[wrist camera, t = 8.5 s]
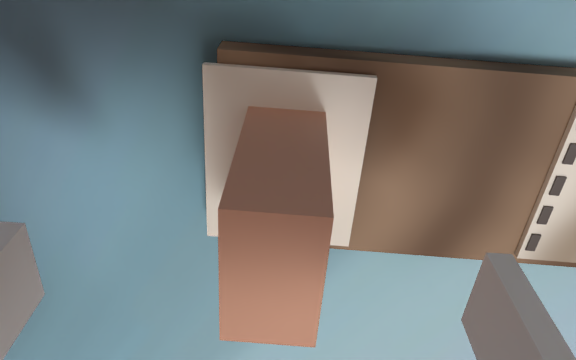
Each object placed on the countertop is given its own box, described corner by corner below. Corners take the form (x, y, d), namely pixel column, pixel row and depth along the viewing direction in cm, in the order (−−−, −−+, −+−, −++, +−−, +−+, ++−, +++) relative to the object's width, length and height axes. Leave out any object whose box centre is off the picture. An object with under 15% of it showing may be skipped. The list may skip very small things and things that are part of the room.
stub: (208, 231, 22) (167, 366, 15) (203, 62, 17) (144, 152, 11) (348, 242, 22) (363, 381, 15) (376, 75, 17) (413, 172, 11)
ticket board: (223, 224, 23) (218, 244, 22) (222, 40, 18) (215, 51, 17) (647, 257, 23) (668, 279, 22) (753, 82, 18) (789, 96, 17)
